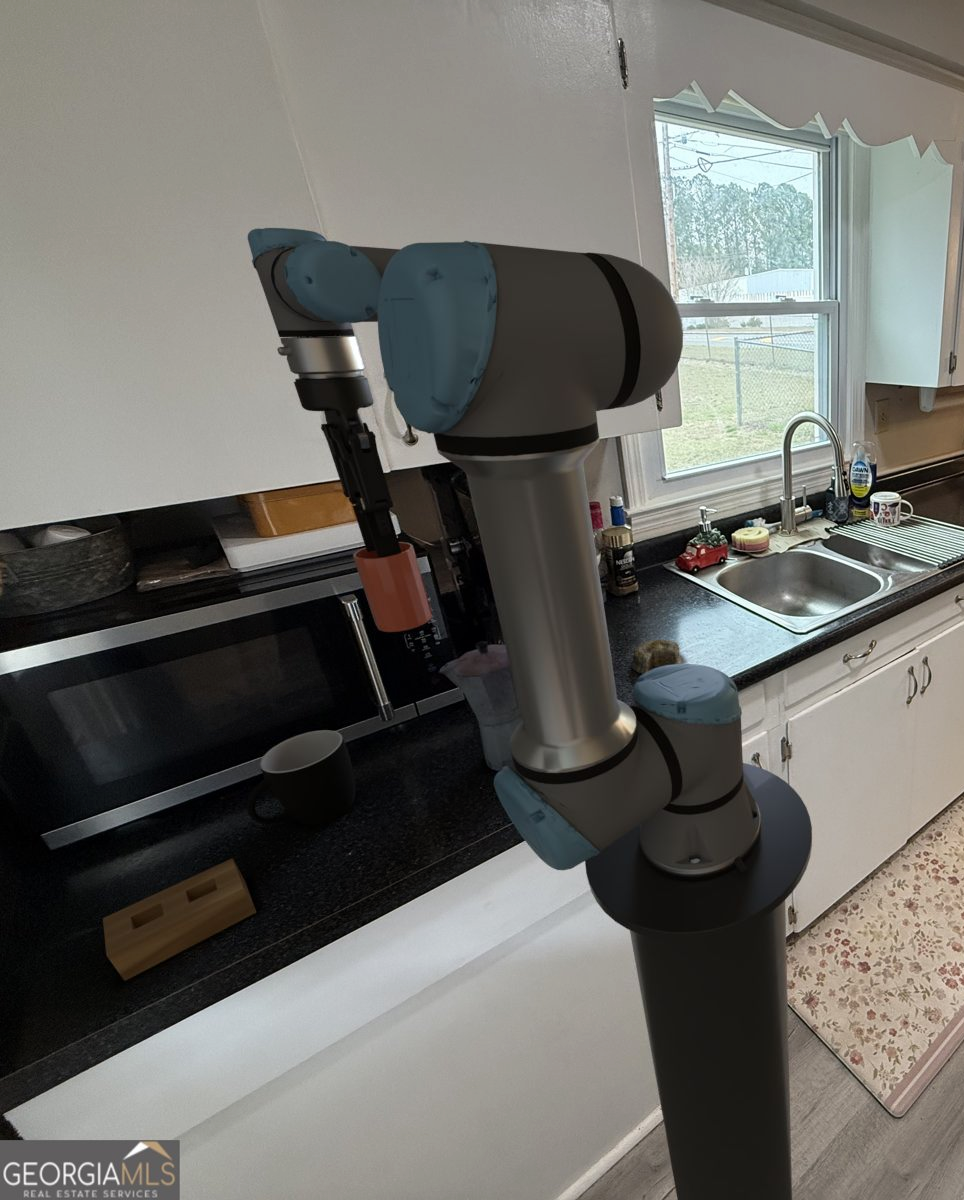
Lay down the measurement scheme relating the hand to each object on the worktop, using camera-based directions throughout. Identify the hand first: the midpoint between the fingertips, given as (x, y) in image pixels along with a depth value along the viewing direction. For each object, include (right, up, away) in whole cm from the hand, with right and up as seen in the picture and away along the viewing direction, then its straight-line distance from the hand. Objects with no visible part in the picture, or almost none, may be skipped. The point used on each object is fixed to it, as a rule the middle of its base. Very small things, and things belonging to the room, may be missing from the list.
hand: (384, 552), depth 86 cm
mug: (-9, -37, -1) cm, 38 cm away
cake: (+30, -19, +36) cm, 51 cm away
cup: (0, -10, +4) cm, 11 cm away
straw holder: (-11, -43, -17) cm, 48 cm away
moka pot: (+14, -31, +11) cm, 36 cm away
